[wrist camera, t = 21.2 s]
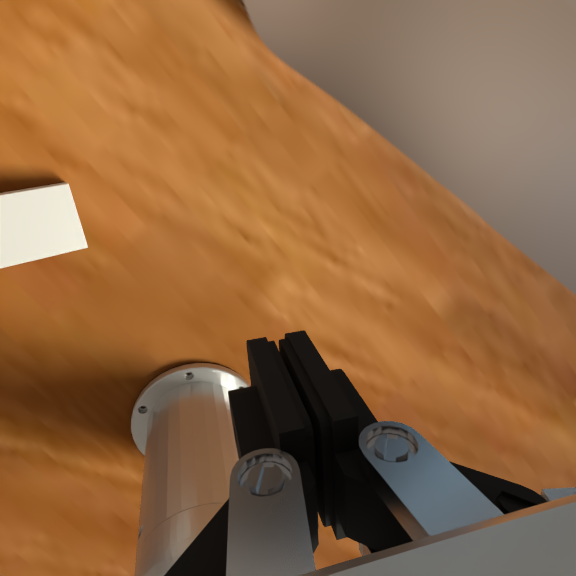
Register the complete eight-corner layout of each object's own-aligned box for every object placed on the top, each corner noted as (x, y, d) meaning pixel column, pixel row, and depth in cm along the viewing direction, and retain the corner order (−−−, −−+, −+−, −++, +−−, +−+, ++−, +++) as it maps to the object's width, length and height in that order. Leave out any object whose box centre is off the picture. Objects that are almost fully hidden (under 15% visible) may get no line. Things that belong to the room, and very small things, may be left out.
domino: (68, 183, 32) (-100, 212, 27) (87, 247, 34) (-66, 284, 29) (65, 182, 33) (-95, 208, 29) (84, 243, 35) (-63, 277, 31)
